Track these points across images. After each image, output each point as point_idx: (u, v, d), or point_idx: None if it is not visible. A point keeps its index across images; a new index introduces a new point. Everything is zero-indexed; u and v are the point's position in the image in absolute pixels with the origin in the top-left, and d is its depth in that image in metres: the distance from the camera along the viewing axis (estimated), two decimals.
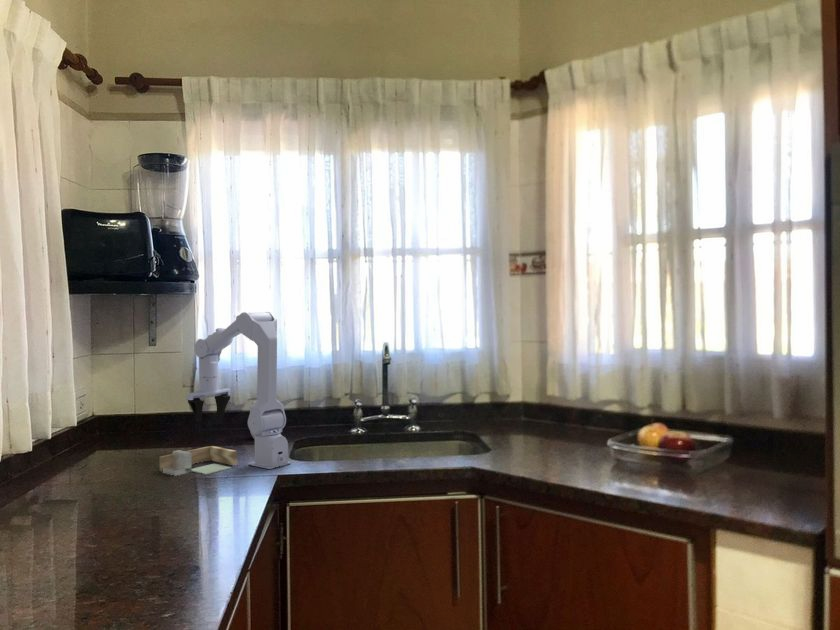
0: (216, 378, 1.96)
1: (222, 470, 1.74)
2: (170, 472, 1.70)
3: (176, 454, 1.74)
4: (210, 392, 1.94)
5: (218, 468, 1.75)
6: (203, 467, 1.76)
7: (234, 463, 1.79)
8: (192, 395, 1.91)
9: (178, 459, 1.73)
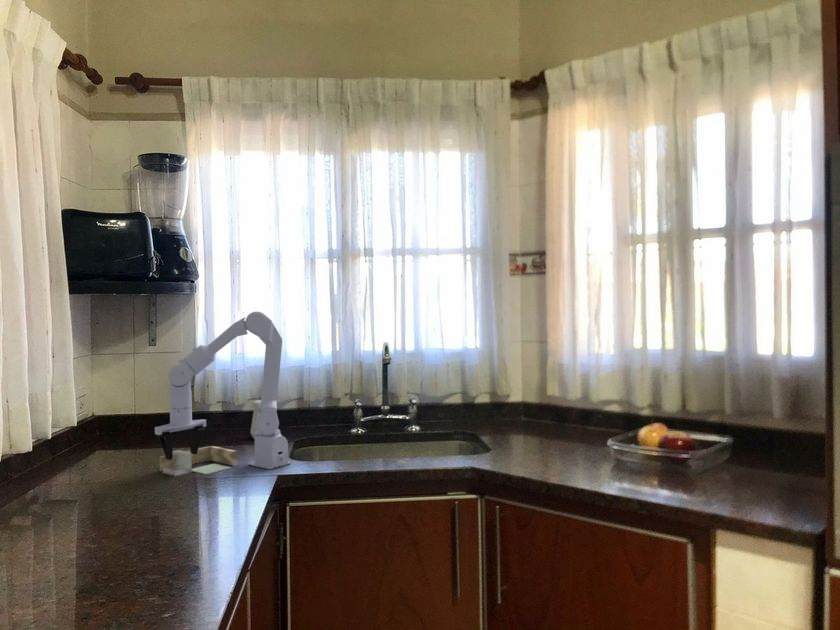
0: (189, 409, 1.73)
1: (222, 470, 1.74)
2: (170, 472, 1.70)
3: (176, 454, 1.74)
4: (182, 425, 1.71)
5: (218, 468, 1.75)
6: (203, 467, 1.76)
7: (234, 463, 1.79)
8: (161, 429, 1.68)
9: (178, 459, 1.73)
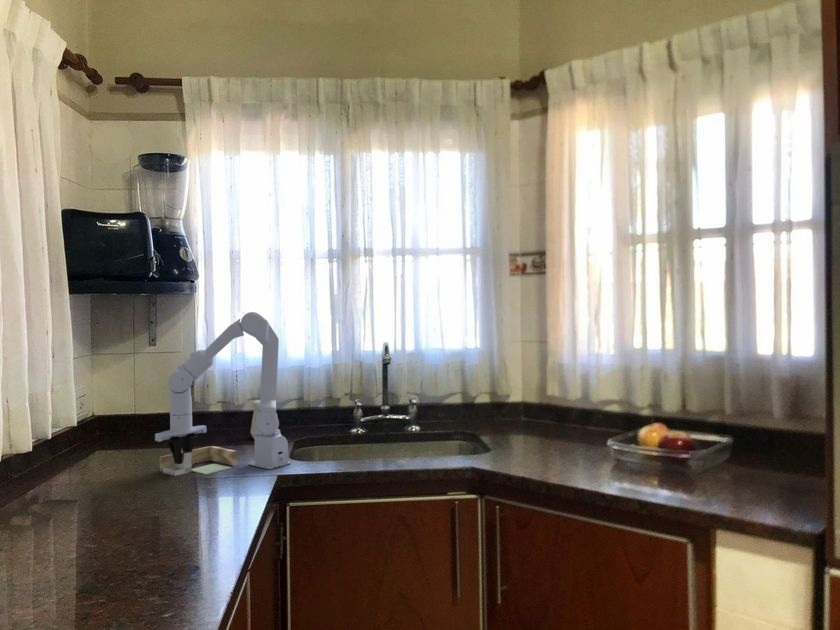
0: (189, 415, 1.73)
1: (222, 470, 1.74)
2: (170, 472, 1.70)
3: None
4: (182, 431, 1.71)
5: (218, 468, 1.75)
6: (203, 467, 1.76)
7: (234, 463, 1.79)
8: (161, 436, 1.68)
9: None
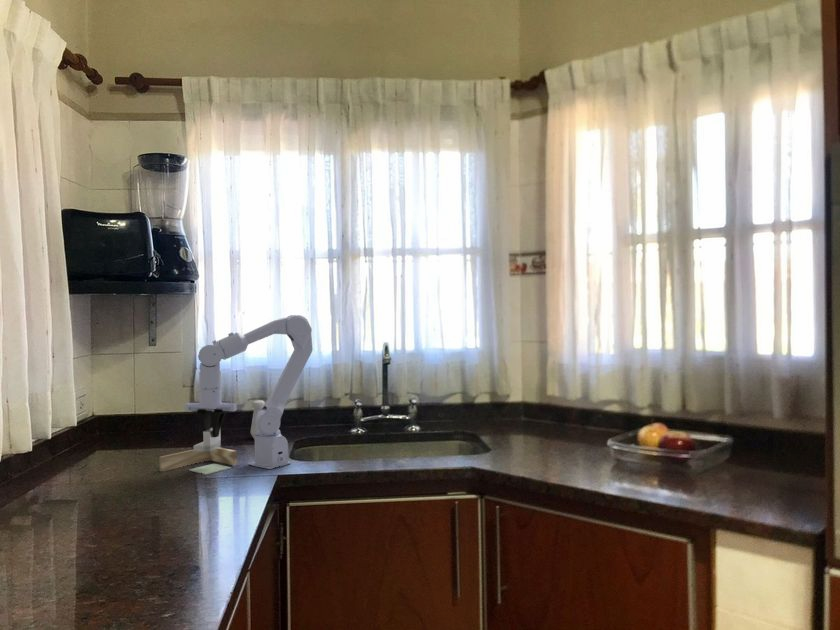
0: (209, 390, 1.72)
1: (222, 470, 1.74)
2: None
3: None
4: (201, 405, 1.72)
5: (218, 468, 1.75)
6: (203, 467, 1.76)
7: (234, 463, 1.79)
8: (187, 406, 1.74)
9: None
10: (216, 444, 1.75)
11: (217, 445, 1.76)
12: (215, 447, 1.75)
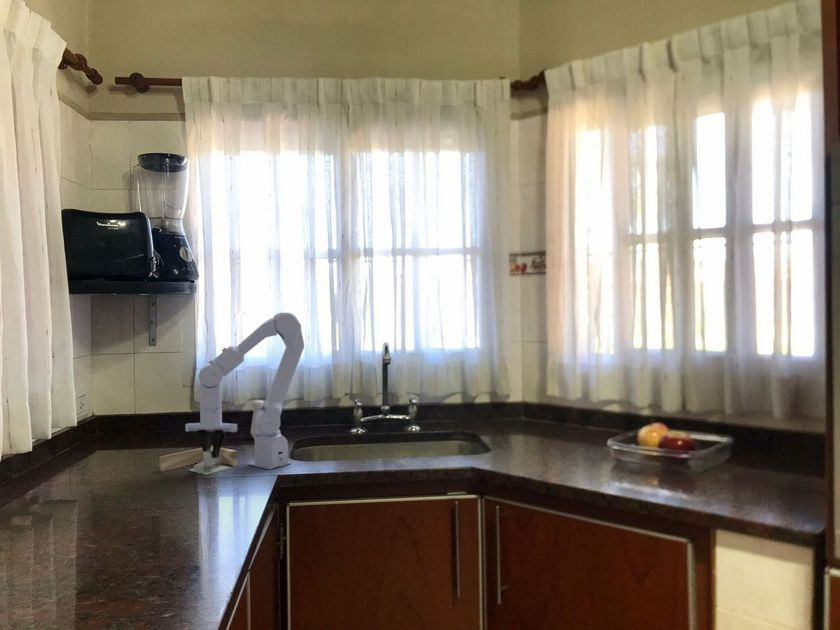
0: (209, 411, 1.72)
1: (222, 470, 1.74)
2: None
3: None
4: (201, 426, 1.72)
5: (218, 468, 1.75)
6: None
7: (234, 463, 1.79)
8: (187, 426, 1.74)
9: None
10: (216, 464, 1.75)
11: (217, 465, 1.76)
12: (215, 467, 1.74)
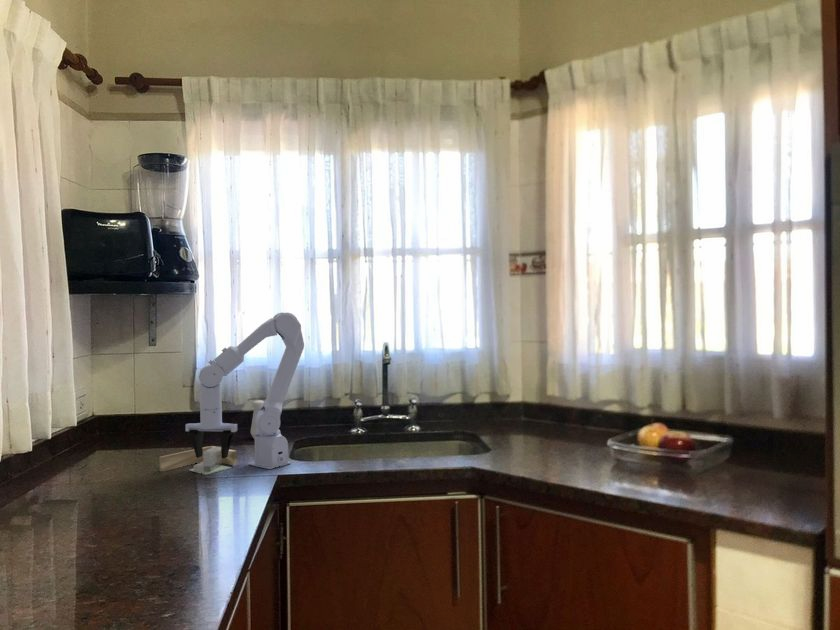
0: (209, 411, 1.72)
1: (222, 470, 1.74)
2: None
3: None
4: (202, 426, 1.72)
5: (218, 468, 1.75)
6: None
7: (234, 463, 1.79)
8: (187, 426, 1.74)
9: None
10: (216, 464, 1.75)
11: (217, 465, 1.76)
12: (215, 467, 1.74)
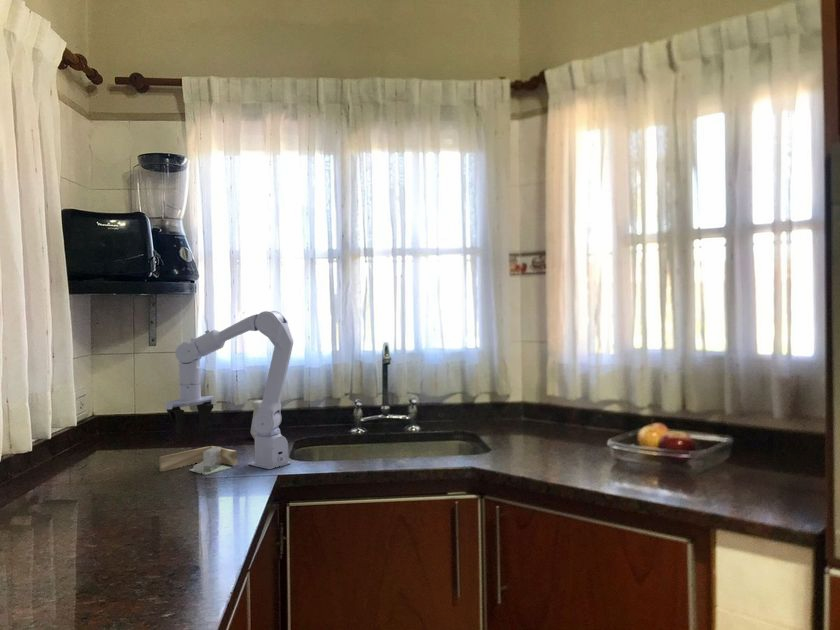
0: (198, 385, 1.79)
1: (222, 470, 1.74)
2: None
3: None
4: (191, 400, 1.78)
5: (218, 468, 1.75)
6: None
7: (234, 463, 1.79)
8: (171, 404, 1.75)
9: None
10: (216, 464, 1.75)
11: (217, 465, 1.76)
12: (215, 467, 1.74)
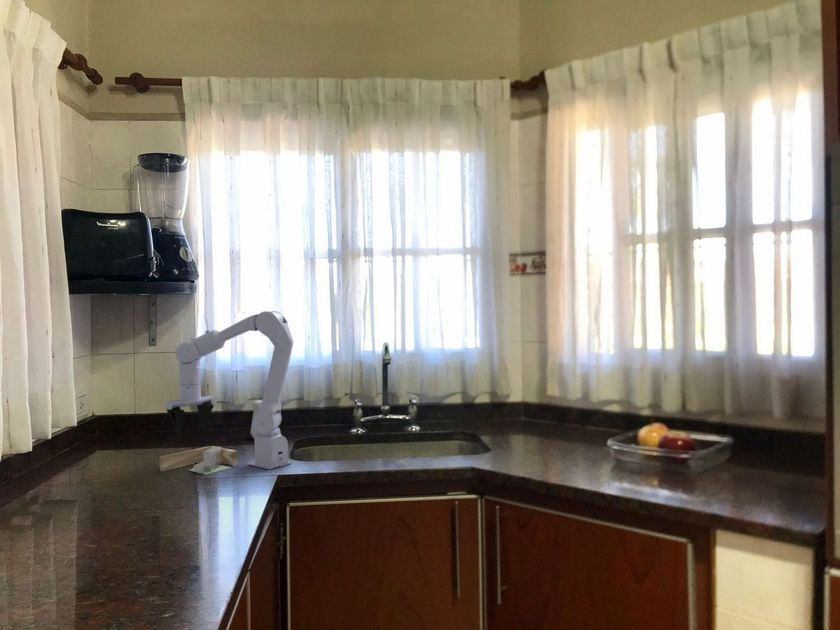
0: (198, 385, 1.79)
1: (222, 470, 1.74)
2: None
3: None
4: (191, 400, 1.78)
5: (218, 468, 1.75)
6: None
7: (234, 463, 1.79)
8: (171, 404, 1.75)
9: None
10: (216, 464, 1.75)
11: (217, 465, 1.76)
12: (215, 467, 1.74)
